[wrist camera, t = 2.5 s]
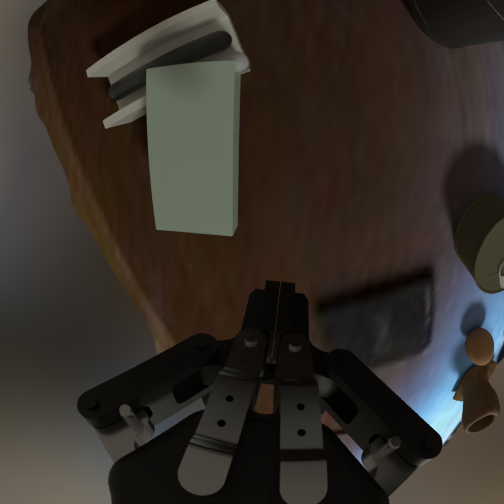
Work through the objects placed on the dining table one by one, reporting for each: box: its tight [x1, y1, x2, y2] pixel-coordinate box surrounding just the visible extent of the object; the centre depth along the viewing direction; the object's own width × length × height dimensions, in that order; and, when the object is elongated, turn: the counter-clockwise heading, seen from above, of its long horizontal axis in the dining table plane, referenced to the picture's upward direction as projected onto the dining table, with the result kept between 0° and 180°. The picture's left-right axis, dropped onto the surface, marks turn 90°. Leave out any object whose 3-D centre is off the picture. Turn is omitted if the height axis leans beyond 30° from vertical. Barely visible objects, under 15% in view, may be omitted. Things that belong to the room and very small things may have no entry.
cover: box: [146, 51, 251, 236], centre depth 24 cm, size 17×9×2 cm, turn 179°
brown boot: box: [453, 361, 500, 434], centre depth 39 cm, size 15×12×15 cm
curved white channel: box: [86, 0, 251, 128], centre depth 24 cm, size 16×8×6 cm, turn 108°
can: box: [454, 194, 504, 294], centre depth 27 cm, size 12×12×7 cm
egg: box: [465, 328, 494, 366], centre depth 35 cm, size 6×6×8 cm
